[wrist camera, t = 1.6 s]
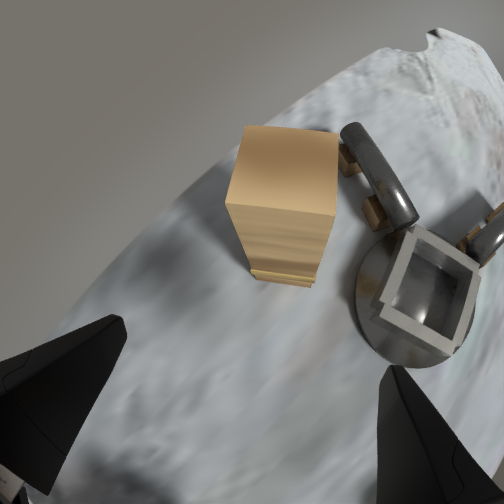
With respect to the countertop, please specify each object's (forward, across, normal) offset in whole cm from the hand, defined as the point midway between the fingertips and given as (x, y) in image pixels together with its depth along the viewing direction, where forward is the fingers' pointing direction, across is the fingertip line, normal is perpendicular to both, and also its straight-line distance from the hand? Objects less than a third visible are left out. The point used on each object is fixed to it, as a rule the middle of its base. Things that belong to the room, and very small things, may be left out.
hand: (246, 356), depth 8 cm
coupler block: (+15, 0, +4) cm, 16 cm away
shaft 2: (+18, -20, +1) cm, 27 cm away
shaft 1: (+20, -7, -1) cm, 21 cm away
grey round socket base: (+14, -12, +5) cm, 19 cm away
